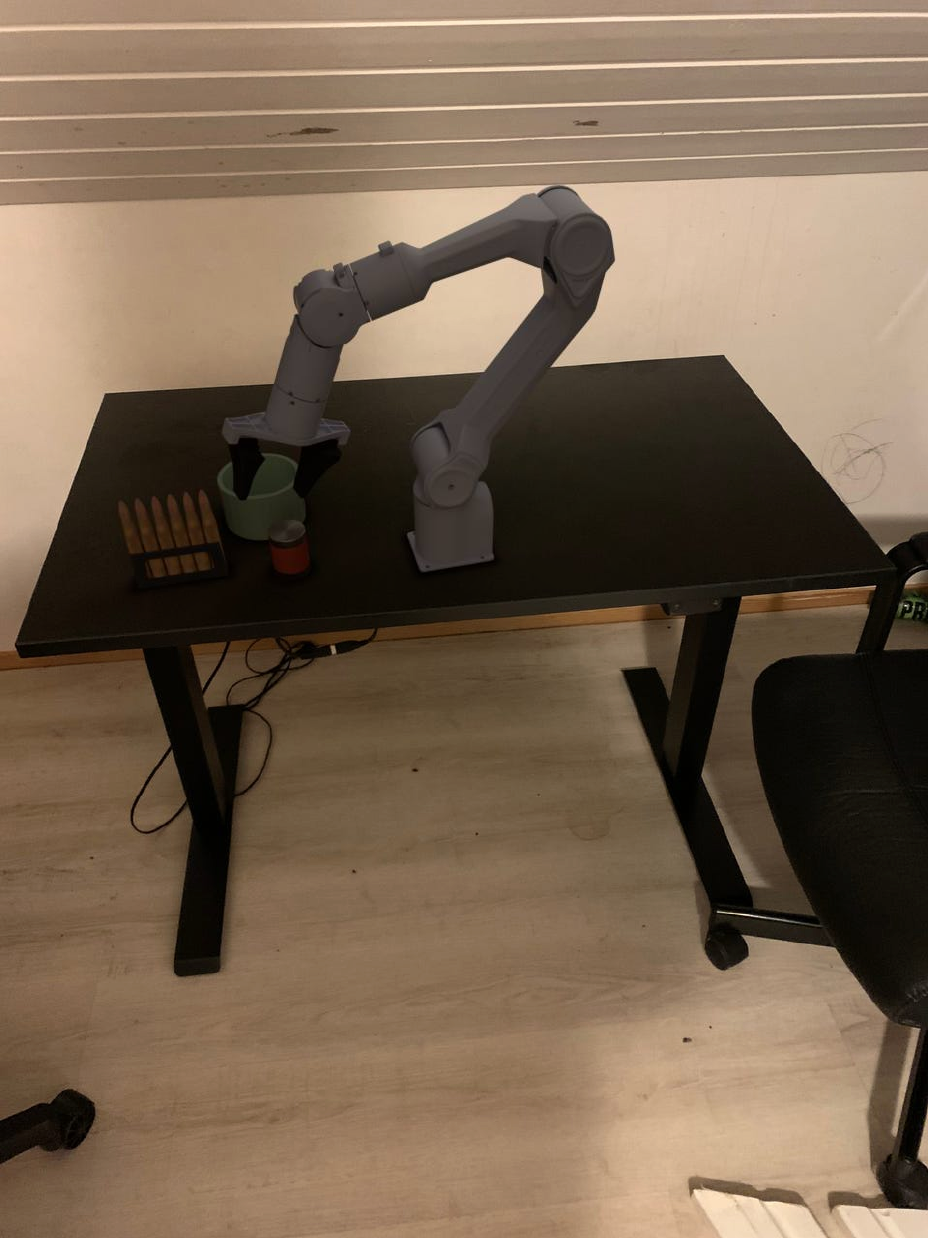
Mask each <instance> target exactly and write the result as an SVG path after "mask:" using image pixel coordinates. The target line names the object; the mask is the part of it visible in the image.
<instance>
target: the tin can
mask: <svg viewBox="0 0 928 1238" xmlns="http://www.w3.org/2000/svg"><path fill="white" fill-rule="evenodd" d="M268 538H269V540H268V544H269V548H270V555H271V560H272V565H273V569H274V574H275V576H276V577H277V578H278V579H280V580H282V581H287V582H294V581H299V580H302V579H304V578H305V577H307V576H308V575H309V574H310V572H311V569H312V564H311V558H310V551H309V545H308V538H307V534H306V527H305V525H304V523H301V522H299V521H296V520H282V521H278V522H276V523H274V524H273V525H271V526H270V527H269V529H268Z"/></svg>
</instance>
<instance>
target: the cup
mask: <svg viewBox="0 0 928 1238" xmlns="http://www.w3.org/2000/svg"><path fill="white" fill-rule="evenodd" d="M260 453H261V454H262V455H263V457H264V458H265V459H266V460H265V461H264V462H263V463H262V465H261V466H260V468H259V469H258V471H257V473H256V475H255V477H254V480H253V483H252V486H251V490H250V493H249V496H248V498H247V499H246V501H240V500H239V499H238V497H237V496H236V494H235V493H234V492H233V467H232V461H230V462H229V463H227V464H225V465H224V466H223V467H222V468H221V470H220V471H219V472H218V475H217V478H216V480H217V481H216V483H217V488H218V492H219V497H220V500H221V504H222V505H221V506H222V509H223V510H222V511H223V515H224V518H225V522H226V525H227V528H228V529H229V530H230V531H231V532H232V533H233V534H234V535H236V536H237V537H239V538H243V539H245V540H246V539H247V540H251V541H269V538H268V529H269V527H270V526H271V525H273V524H274V523H276V522H278V521H282V520H296V521H299V522H301V523H302V524H304V521H305V519H306V517H307V511H306V510H307V507H306V500H305V498H300V497H299V495H298V494H297V493H296V492H295V490H294V489H293V483H294V478H295V474H296V471H297V468H298V464H297V463H296V461H295V460H293V459H291V458H290V457H288V456H285V455H282V454H277V453H270V452H269V453H268V452H260Z"/></svg>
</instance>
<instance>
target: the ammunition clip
mask: <svg viewBox="0 0 928 1238" xmlns="http://www.w3.org/2000/svg"><path fill="white" fill-rule="evenodd" d="M150 501H151V503H150V504H151V513H152V517H153V520H154V526H153V524H152V523H151V520H150V517H149V515H148V512H147V510H146V507H145V505H144V504H143V502H142V501H141V499H139V498H138V497H136V498H135V501H134V510H135V515H136V518H137V524H138V528H137V527H136V525H135V523H134V519H133V518H132V515H131V512H130V511H129V509H128V507H127V505H126V504H125V503H124V501H122V500H119V501H118V515H119V518H120V523H121V527H122V534H123V538H124V540H125V544H126V547H127V550H128V554H129V558H130V562H131V566H132V569H133V573H134V578H135V581H136V585H137V588H138V589H139V590H140V589H147V588H153V587H160V586H167V585H173V584H180V583H186V582H193V581H199V580H205V579H213V578H218V577H225V576H229V573H230V572H229V571H230V570H229V564H228V560H227V557H226V554H225V550H224V547H223V544H222V541H221V537H220V532H219V528H218V524H217V520H216V517H215V516H214V513H213V510H212V508H211V503H210V501H209V498H208V496H207V495H206V492H205V491H204V490H203V489H200V490H199V491H198V506H199V510H200V516H201V519H199V516H198V513H197V510H196V508H195V505H194V502H193V499H192V498H191V496H190V494H189V493H188V492H187V491H184V492H183V495H182V504H183V510H184V515H185V521H184V519H183V517H182V514H181V512H180V509H179V508H180V507H179V505H178V504H177V501H176V499H175V497H174V496H173V495H172V494H171V493H168V494H167V499H166V501H167V503H166V504H167V511H168V516H169V520H170V524H169V523H168V521H167V517H166V515H165V512H164V509H163V507H162V505H161V502H160V501H159V500H158V498H157V497H156V496H155V495H153V496H151V500H150Z"/></svg>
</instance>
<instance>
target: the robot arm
mask: <svg viewBox="0 0 928 1238" xmlns="http://www.w3.org/2000/svg"><path fill="white" fill-rule="evenodd" d="M579 195H580V194H578V192H576V191H575V190H574V189H573V188H572V187H570V186H568V185H564V184H553V185H548V186H546V187H545V188H543V189H541V190H540V191H538V193H536V192H531V193H526V194H522V195H521V196H520V197H518V198H517V199H515V200H514V201H513V202H511V203H510V204H508V205H507V206H505V207H503V208H502V209H499V210H498V211H496V212H492V214H490V215H487V216H485V217H483V218H481V219H479V220H476V221H475V222H472V223H470V224H468V225H466V226H464V227H462V228H460V229H458V230H456V231H453V232H452V233H449V234H448V235H447V234H446V236H443V237H441V238H439V239H437V240H435V241H433V242H431V243H429V244H427V245H424V246H421V248H420V247H417V246H414V245H412V244H409V243H406V242H404V241H401V242H398V243H396V244H392V242H391V241H390V240H386V241H384V242H382V243H379V244H378V245H377V248H378V250H379V251H377V252H374V253H372V254H369V255H367V256H365V257H361V258H359V259H357V260H355V261H352V262H349V263H347V264H345V265H343V262H342V261H340V262H338V263H336V264H334V265H332V270H331V269H328V270H326V268H319V269H315V270H312V271H310V272H308V273H306V274H305V275H304V276H302V278H301V281H299V282H298V283H297V285H294V286H293V289H292V299H293V303H294V307H295V309H296V311H297V313H295V314H293V319H292V322H291V324H290V327H289V333H288V336H287V337H286V339H285V341H284V345H283V349H282V352H281V356H280V360H279V363H278V366H277V370H276V374H275V377H274V382H273V385H272V389H271V393H270V396H269V399H268V403H267V406H266V409H265V411H261V412H256V413H252V414H248V415H242V416H239V417H238V416H237V417H225V418H224V422H223V426H222V430H221V433H220V434H221V435H222V437H223V438H224V439H225V441H226V443H227V446H228V450H229V454H230V459H231V462H232V467H233V492H234V493H235V494H236V496H237V497H238V499H239V500H240V501H246V499H247V498H248V496H249V493H250V490H251V486H252V483H253V480H254V477H255V475H256V473H257V471H258V469H259V468H260V466H261V465H262V463H263V462H264V461H265V460H266V459H265V458H264V457H263V455H262V454H261V453H262V452H261V451H260V448H261V445H258V444H259V442H275V443H280V444H285V445H289V446H295V447H301V450H300V455H299V460H298V464H297V465H298V468H297V471H296V474H295V478H294V483H293V489H294V490H295V492H296V493H297V494H298V495H299V497H300V498H304V499H306V498H307V496H308V495H309V493H310V492H311V490H312V489H313V488H314V486H315V485H316V483H317V482H318V481H319V479H320V478H321V477H322V476H323V475H324V474H325V473H326V472H327V471H329V469H330V468H331V467H332V466H334V465H335V464H337V463H338V462H340V460H341V459H342V455H343V452H342V450H341V448H339V447H338V445H339V446H346V445H347V443H348V440H349V437H350V435H351V429H350V428H349V426H347V424H345V422H344V421H342V420H334V419H333V420H332V419H327V418H323V414H324V412H325V408H326V406H327V402H328V399H329V395H330V392H331V389H332V386H333V383H334V380H335V376H336V374H337V370H338V367H339V365H340V362H341V355H342V352H343V349H344V346H345V345H347V344H349V343H350V342H351V341H352V340H354V338H355V337H356V336H357V334H358V332H359V330H360V328H361V327H362V326H363V325H366V324H368V323H371V322H373V321H376V320H378V319H381V318H383V317H386V316H388V315H391V314H393V313H395V312H398V311H400V310H403V309H405V308H408V307H411V306H413V305H415V304H418V303H420V302H423V301H424V300H425V299H426V297H427V295H428V293H429V292H430V289H431V287H432V285H433V284H435V283H437V282H439V281H443V280H445V279H449V278H451V277H454V276H457V275H460V274H463V273H466V272H468V271H472V270H475V269H478V268H480V267H483V266H487V265H489V264H493V263H496V262H498V261H501V260H504V259H507V258H509V259H513V260H515V261H518V262H520V263H524V264H527V265H529V266H532V267H534V268H537V269H540V274H541V282H542V289H543V293H542V295H541V297H540V298H539V299H538V301H537V302H536V303H535V305H534V306H533V307H532V309H530V311H529V312H528V314H527V315H526V316H525V318H524V319H523V320H522V321H521V323H520V324H519V325H518V327H517V328H516V329H515V331H514V332H513V333H512V335H511V336H510V337H509V338H508V339H507V341H506V342H505V343H504V345H503V347H502V348H501V349H500V350H499V351H498V352H497V354H496V355H495V357H494V358H493V359H492V360H491V362H490V363H489V365H488V366H487V367H486V369H485V370H484V371H483V372H482V374H481V375H480V376H479V377H478V379H477V380H476V381H475V383H474V384H473V385H472V387H471V388H470V389H469V390H468V392H467V393H466V394H465V396H464V397H463V398H462V400H461V401H460V402H459V404H458V405H456V407H453V408H447V409H444V410H441V411H440V413H439V414H437V416H436V417H435V419H433V420H432V421H431V422H429V423H427V424H426V425H423V426H422V427H421V428H419V429H418V430H417V431H416V432H415V433H414V435H413V436H412V437H411V440H410V443H409V453H410V457H411V459H412V461H413V462H414V464H415V467H416V470H417V476H416V478H415V480H414V483H413V486H412V495H413V497H412V498H413V499H412V500H413V519H414V520H413V521H414V530H413V531H409V532H407V533H406V537H407V540H408V543H409V545H410V548H411V550H412V553H413V556H414V559H415V561H416V564H417V567H418V569H419V571H420V572H421V573H426V572H433V571H438V570H439V571H440V570H445V569H452V568H457V567H462V566H463V567H464V566H469V565H474V564H480V563H486V562H491V561H494V560H495V555H494V553H493V547H494V543H493V542H494V505H493V499H492V494H491V491H490V488H489V486H488V484H487V483H486V482H485V481H479V479H480V477H481V475H482V474H483V472H484V471H485V470H486V469H487V468H488V466H489V465H488V464H489V460H490V452H491V447H492V442H493V439H494V438H495V437H496V435H497V434H498V433H499V432H500V431H501V429H502V428H503V427H504V426H505V424H506V423H507V422H508V421H509V419H510V418H511V417H512V416H513V415H514V413H515V412H516V411H517V409H518V408H519V407H520V406H521V404H523V402H524V400H526V399H527V397H528V396H529V395H530V393H531V392H532V391H533V390H534V388H536V386H537V384H539V382H540V381H541V380H542V379H543V378H544V376H545V375H546V374H547V372H549V370H550V369H551V367H552V366H553V365H554V364H555V363H556V361H557V360H558V359H559V358H560V356H562V354H563V353H564V351H565V350H566V349H567V348H568V347H569V345H570V344H571V343H572V341H574V339H575V338H576V336H578V334H579V333H580V332H581V330H583V328H584V327H585V326H586V324H587V323H588V322H589V321H590V319H591V318H592V316H593V315H594V314H595V312H596V310H597V308H598V307H597V306H598V303H599V299H600V295H601V293H602V289H603V285H604V281H605V277H606V273H607V272H608V271H609V269H610V268H611V267H612V266H613V265H614V263H615V261H616V256H615V248H614V247H615V246H614V241H613V234H612V230H611V228H610V225H609V224H608V222H607V221H606V220H605V219H604V218H603V217H602V216H601V215H600V214H597V213H596V212H595V211H593V210H592V208H590V206H589V205H588V204H587V203H585V201H583V199H582V197H580V196H579Z"/></svg>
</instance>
